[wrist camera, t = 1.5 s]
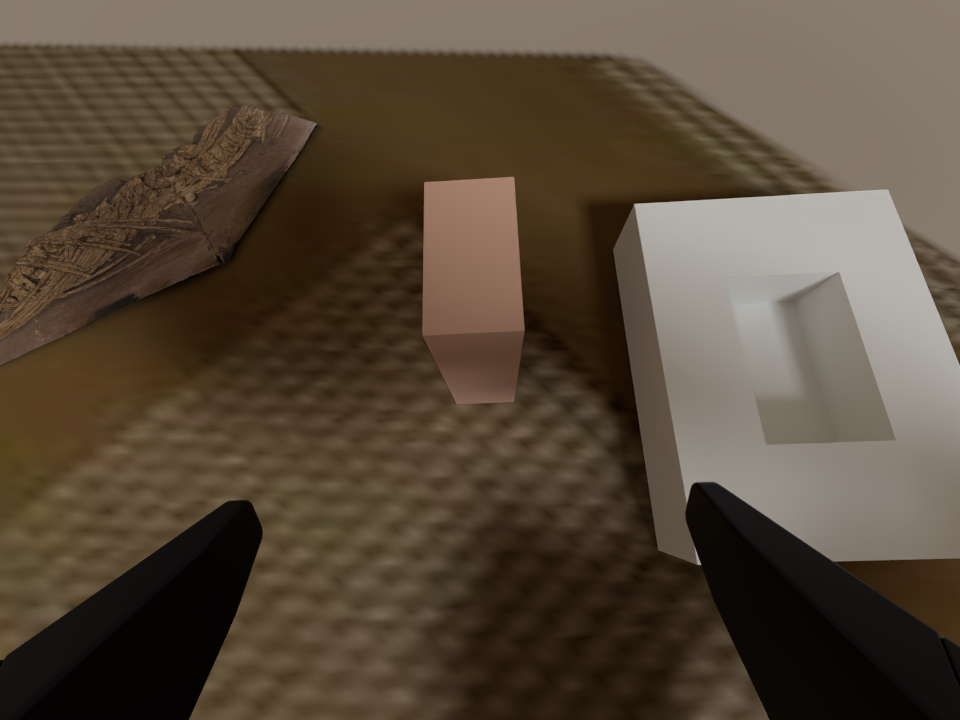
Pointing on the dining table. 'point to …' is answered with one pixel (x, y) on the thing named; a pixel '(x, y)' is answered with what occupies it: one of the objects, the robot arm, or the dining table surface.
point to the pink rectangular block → (473, 287)
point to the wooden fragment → (149, 228)
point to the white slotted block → (793, 371)
